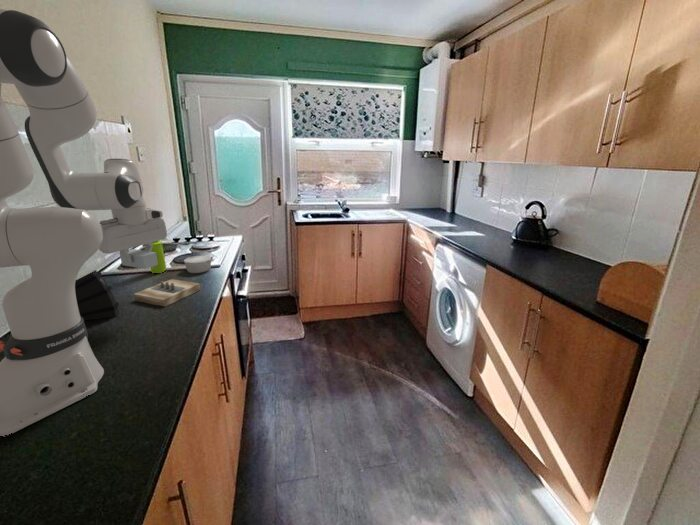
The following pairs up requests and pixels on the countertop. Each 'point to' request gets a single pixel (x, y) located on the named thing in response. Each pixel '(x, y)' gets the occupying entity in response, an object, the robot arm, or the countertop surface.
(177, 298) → the board
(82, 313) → the black ridged block
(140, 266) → the block
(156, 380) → the countertop surface
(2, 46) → the robot arm
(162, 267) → the soap dispenser
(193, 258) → the ramekin
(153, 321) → the countertop surface
